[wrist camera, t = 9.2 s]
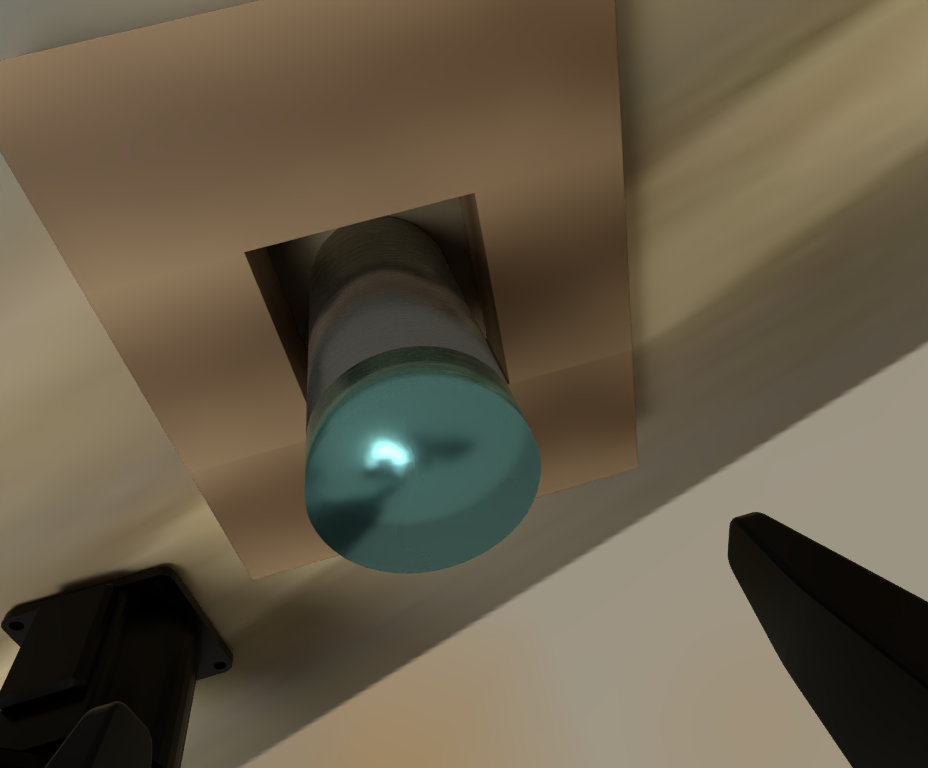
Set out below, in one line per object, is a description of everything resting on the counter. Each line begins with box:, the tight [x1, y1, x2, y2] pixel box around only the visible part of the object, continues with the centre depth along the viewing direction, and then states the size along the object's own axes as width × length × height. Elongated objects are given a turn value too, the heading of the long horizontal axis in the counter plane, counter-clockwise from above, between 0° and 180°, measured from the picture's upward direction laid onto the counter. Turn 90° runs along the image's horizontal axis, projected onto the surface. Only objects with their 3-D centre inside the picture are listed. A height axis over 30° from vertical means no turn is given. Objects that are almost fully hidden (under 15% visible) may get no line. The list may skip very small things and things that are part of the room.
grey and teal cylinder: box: [304, 216, 541, 573], centre depth 16 cm, size 4×4×10 cm
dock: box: [0, 0, 638, 580], centre depth 19 cm, size 16×14×3 cm
